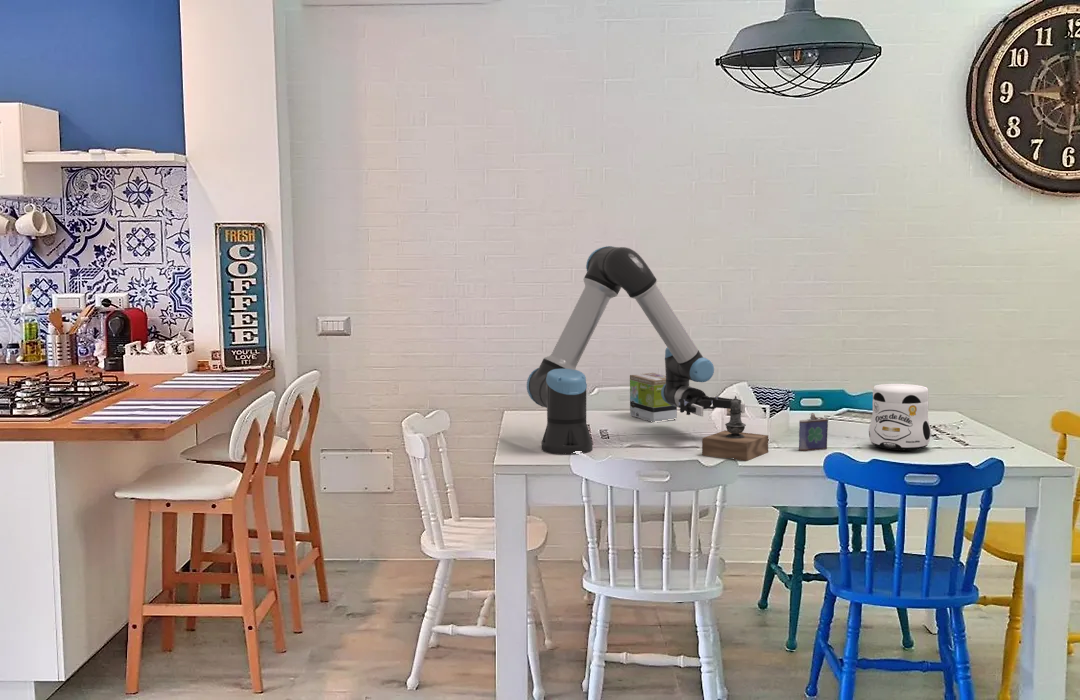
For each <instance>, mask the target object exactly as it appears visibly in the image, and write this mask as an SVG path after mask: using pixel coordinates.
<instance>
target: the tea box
mask: <svg viewBox="0 0 1080 700" xmlns="http://www.w3.org/2000/svg"><path fill="white" fill-rule="evenodd" d="M664 384H666V375H664V374H660V373H656V372H648V373H638V374H630V375H629V415H630V417H635V418H638V419H641V420H644V421H647V420H648V421H647V422H650V421H652V422H655V421H662V420H668V419H674V418H678V417H677V416H678V407H676V406H671V405H670V404H668V403H667V402H665V401H664V400H663V398H662V396H661V390H662V388H663V386H664ZM652 422H651V423H652Z"/></svg>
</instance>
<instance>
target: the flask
mask: <svg viewBox="0 0 1080 700" xmlns="http://www.w3.org/2000/svg"><path fill="white" fill-rule="evenodd" d="M828 423H829V419H828V418H826V417H822V416H816V414H815V412H811V413H810V417H809V419H808V418H807V419H801V420H799V429H798V430H799V431H798V433H799V434H798V450H799V452H808V451H810V452H811V451H816V450H817V451H820V450H827V449H828V430H829V429H828V428H829V427H828V425H829V424H828Z"/></svg>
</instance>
